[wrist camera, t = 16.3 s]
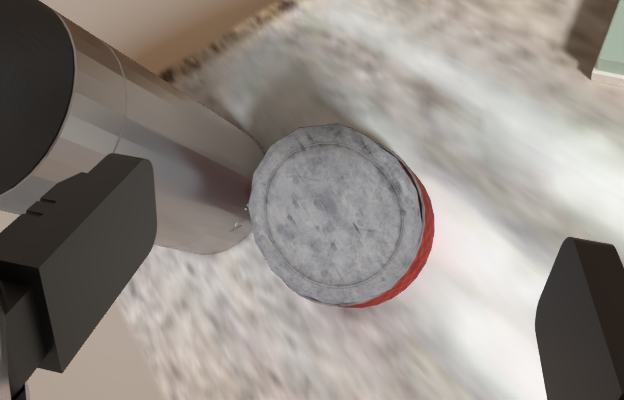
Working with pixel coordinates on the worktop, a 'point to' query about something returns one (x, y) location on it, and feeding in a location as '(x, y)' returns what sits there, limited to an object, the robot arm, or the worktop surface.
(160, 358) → the worktop surface
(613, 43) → the base plate
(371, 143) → the canned food
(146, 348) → the worktop surface
